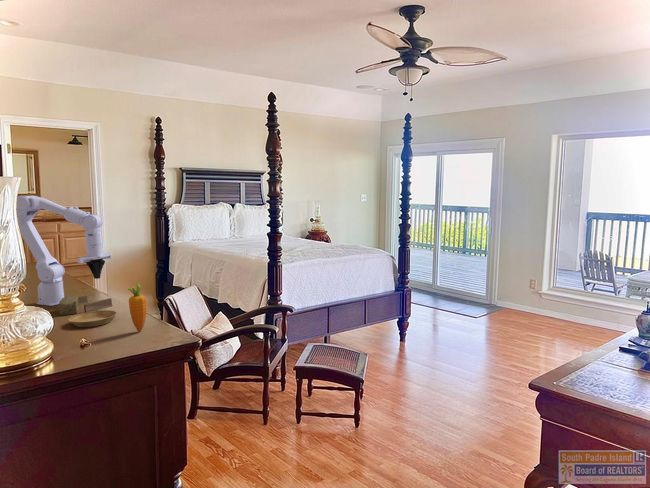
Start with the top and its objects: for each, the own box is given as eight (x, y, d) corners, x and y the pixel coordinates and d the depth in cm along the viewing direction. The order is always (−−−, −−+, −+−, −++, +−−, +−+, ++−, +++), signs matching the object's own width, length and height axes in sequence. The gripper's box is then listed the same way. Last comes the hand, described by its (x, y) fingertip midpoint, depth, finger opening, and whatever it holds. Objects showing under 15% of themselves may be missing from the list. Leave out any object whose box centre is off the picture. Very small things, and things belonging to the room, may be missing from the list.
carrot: (137, 334, 144) (134, 286, 142) (127, 332, 147) (123, 285, 145) (151, 330, 148) (148, 283, 146) (141, 328, 151) (137, 282, 149)
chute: (60, 309, 180) (59, 301, 180) (86, 302, 190) (85, 295, 190) (86, 312, 174) (85, 304, 173) (112, 306, 183) (111, 298, 183)
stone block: (59, 316, 170) (58, 303, 170) (62, 310, 181) (61, 297, 180) (77, 314, 172) (76, 301, 172) (79, 308, 183) (78, 295, 182)
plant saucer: (70, 332, 150) (69, 324, 150) (67, 322, 162) (66, 314, 162) (120, 324, 158) (120, 316, 157) (113, 315, 170) (113, 308, 170)
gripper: (84, 247, 182) (87, 282, 183) (116, 243, 195) (119, 275, 196) (72, 246, 185) (75, 281, 186) (104, 242, 198) (107, 274, 199)
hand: (97, 278), depth 191 cm, fingers closed
